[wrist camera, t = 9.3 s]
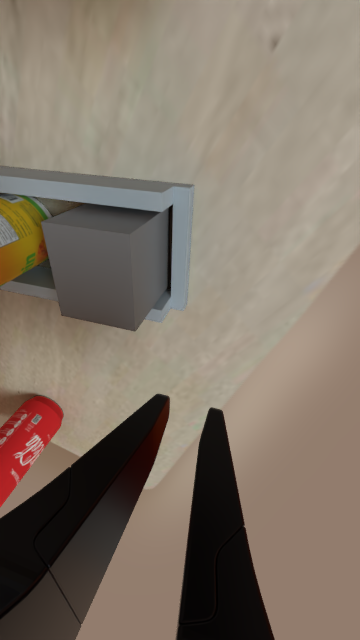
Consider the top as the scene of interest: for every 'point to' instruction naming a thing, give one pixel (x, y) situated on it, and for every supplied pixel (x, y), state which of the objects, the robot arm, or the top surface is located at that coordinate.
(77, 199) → the tray
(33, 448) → the beverage can
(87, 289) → the block
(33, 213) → the supplement bottle
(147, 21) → the top surface
